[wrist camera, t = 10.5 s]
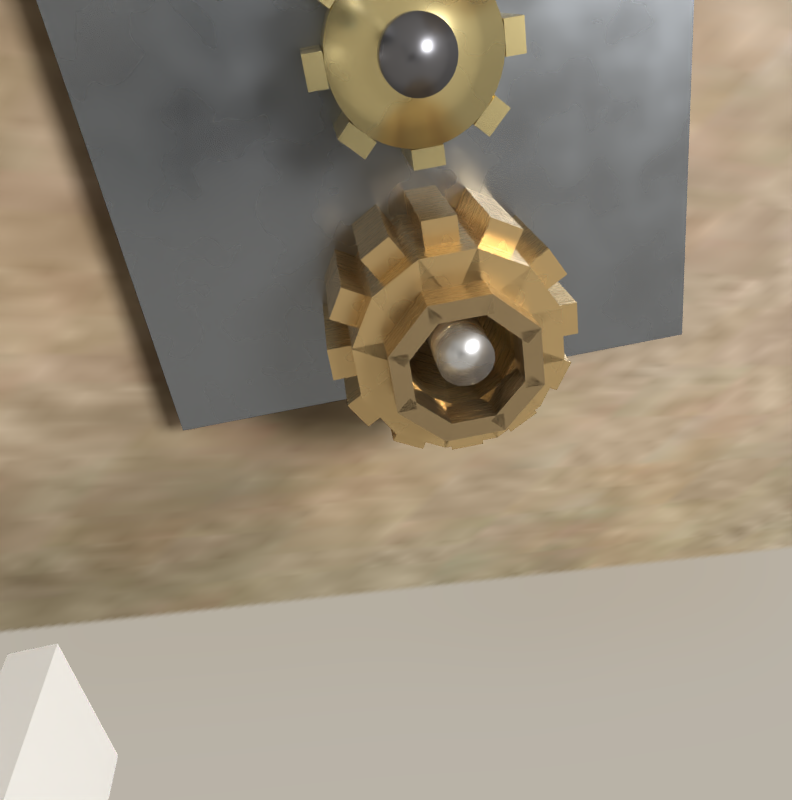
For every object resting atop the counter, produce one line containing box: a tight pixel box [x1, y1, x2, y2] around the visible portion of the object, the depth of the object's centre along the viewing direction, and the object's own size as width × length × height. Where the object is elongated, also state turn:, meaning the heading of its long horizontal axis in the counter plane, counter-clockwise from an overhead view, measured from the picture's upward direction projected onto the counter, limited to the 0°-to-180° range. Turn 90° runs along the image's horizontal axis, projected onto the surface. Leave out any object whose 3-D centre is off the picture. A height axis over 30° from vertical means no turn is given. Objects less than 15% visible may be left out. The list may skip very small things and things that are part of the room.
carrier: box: [36, 0, 694, 430], centre depth 22 cm, size 22×21×8 cm
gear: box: [323, 185, 578, 450], centre depth 25 cm, size 8×8×6 cm
